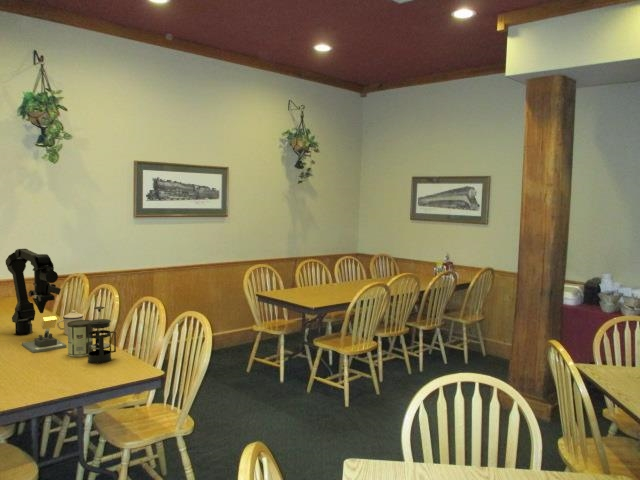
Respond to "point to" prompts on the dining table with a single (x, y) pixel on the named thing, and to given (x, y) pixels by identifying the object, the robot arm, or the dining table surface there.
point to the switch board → (32, 347)
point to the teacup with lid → (69, 320)
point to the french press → (100, 341)
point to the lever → (48, 324)
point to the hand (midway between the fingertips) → (41, 313)
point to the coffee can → (79, 338)
